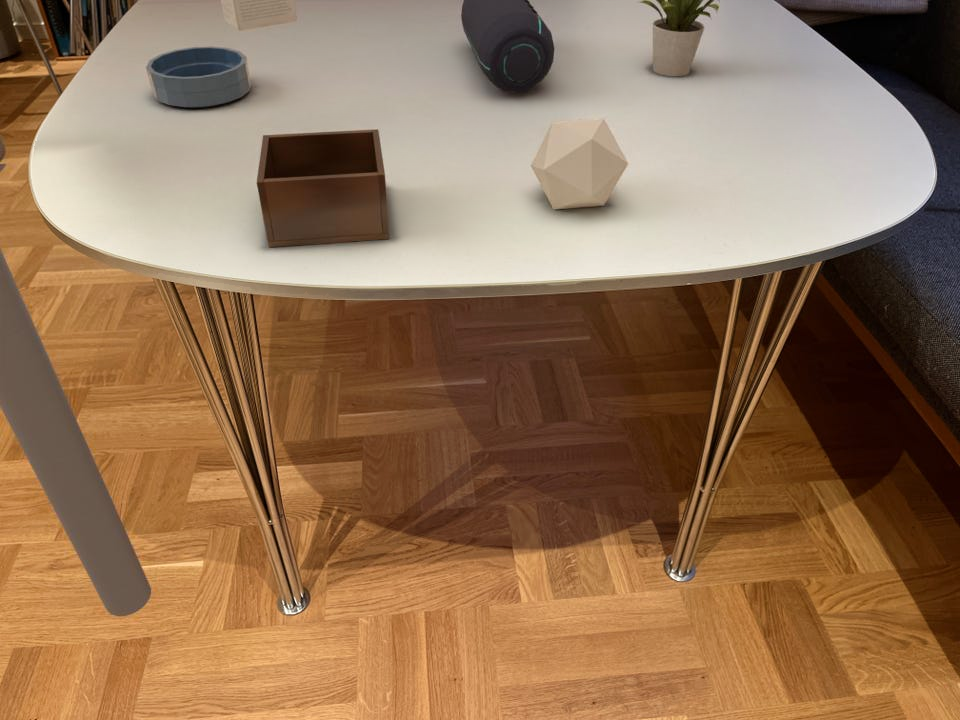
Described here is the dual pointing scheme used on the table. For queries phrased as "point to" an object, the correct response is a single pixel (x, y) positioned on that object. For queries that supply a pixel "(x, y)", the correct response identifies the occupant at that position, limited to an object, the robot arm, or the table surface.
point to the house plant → (677, 35)
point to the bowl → (199, 76)
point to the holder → (322, 188)
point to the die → (578, 163)
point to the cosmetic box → (258, 13)
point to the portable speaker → (508, 42)
